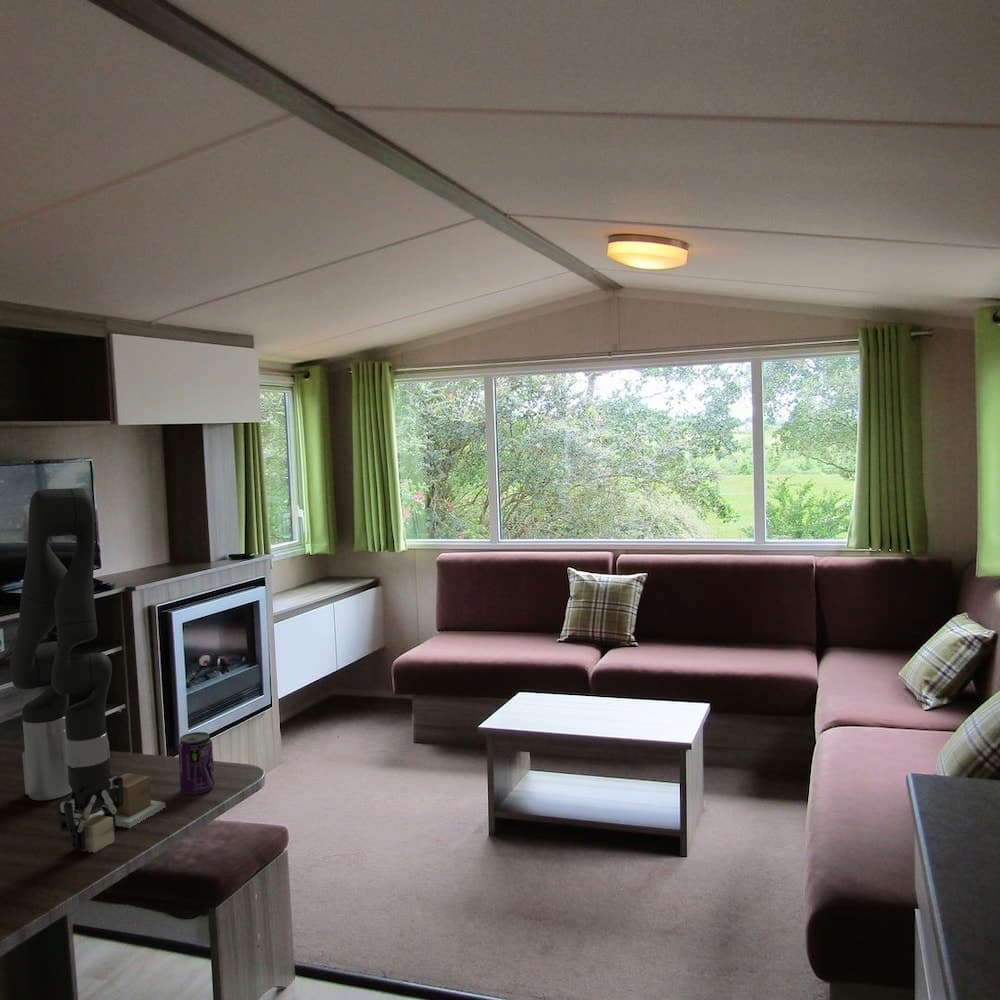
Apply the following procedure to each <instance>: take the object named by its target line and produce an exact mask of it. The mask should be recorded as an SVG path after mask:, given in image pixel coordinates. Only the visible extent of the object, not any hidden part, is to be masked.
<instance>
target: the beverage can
mask: <svg viewBox="0 0 1000 1000" xmlns="http://www.w3.org/2000/svg"><path fill="white" fill-rule="evenodd" d="M177 751H178V752H177V753H178V765H179V767H178V768H179V782H180V783H179V784H180V790H181V791H182V792H183V793H187V794H188V793H189V795H199V794H198V793H200V794H204V793H206V792H208V791H209V790H211V789H212V788H214V787H215V783H216V782H215V771H214V770H215V769H214V766H215V765H214V755H213V754H214V753H213V741H212V740H211V738H210V734H209V733H208V732H205V731H204V732H203V731H195V732H194V731H193V732H189V733H185V734H184V735H182V736H180V737H179V743H178V746H177ZM203 792H204V793H203Z"/></svg>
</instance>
